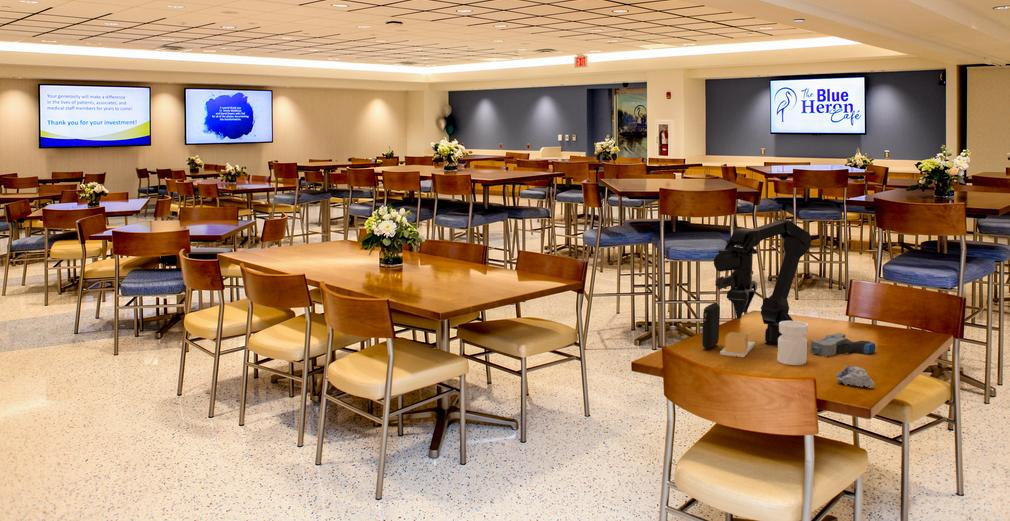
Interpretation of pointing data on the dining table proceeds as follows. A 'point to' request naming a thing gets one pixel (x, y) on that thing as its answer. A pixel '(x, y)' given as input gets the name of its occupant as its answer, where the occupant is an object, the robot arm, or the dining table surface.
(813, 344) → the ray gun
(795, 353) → the white plastic jar
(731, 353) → the plate
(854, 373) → the mineral specimen
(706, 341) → the carrying case or bag
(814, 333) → the dining table surface
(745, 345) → the tan block
